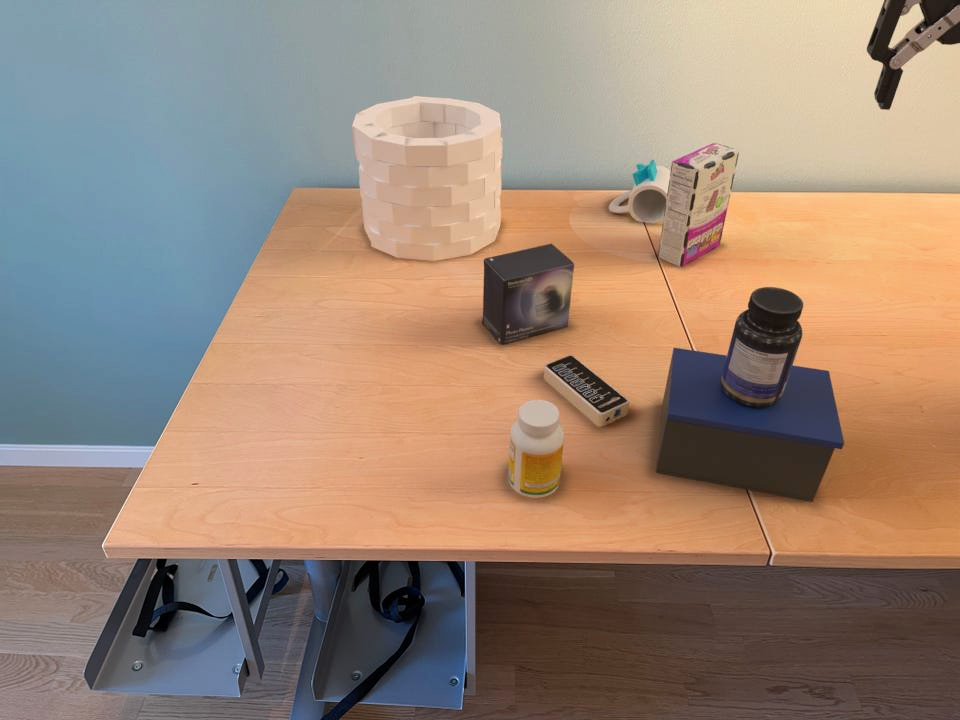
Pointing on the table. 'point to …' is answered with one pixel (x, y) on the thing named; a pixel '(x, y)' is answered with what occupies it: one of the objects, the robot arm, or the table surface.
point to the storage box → (739, 458)
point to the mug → (645, 194)
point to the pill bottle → (763, 348)
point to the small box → (527, 293)
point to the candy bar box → (697, 203)
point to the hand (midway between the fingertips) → (931, 111)
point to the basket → (429, 176)
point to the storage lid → (793, 417)
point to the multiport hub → (586, 390)
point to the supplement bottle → (536, 449)
